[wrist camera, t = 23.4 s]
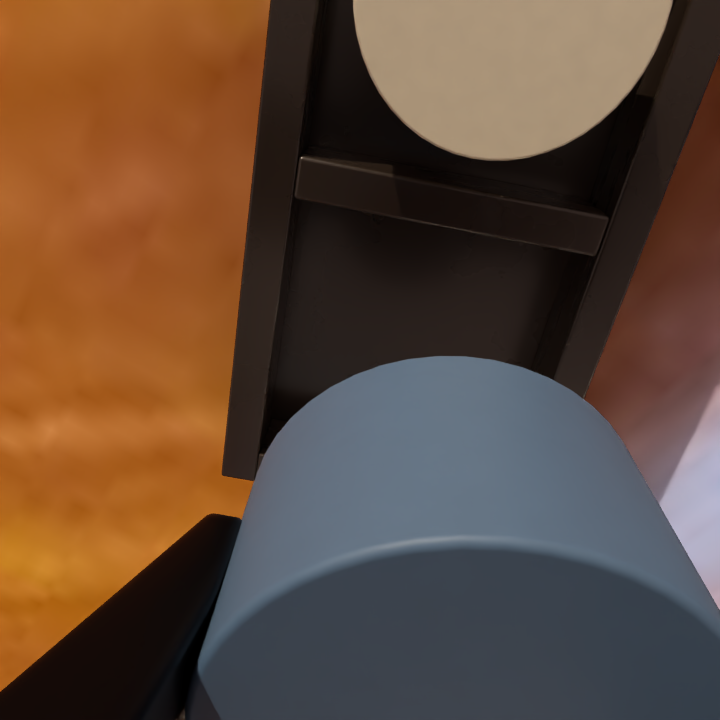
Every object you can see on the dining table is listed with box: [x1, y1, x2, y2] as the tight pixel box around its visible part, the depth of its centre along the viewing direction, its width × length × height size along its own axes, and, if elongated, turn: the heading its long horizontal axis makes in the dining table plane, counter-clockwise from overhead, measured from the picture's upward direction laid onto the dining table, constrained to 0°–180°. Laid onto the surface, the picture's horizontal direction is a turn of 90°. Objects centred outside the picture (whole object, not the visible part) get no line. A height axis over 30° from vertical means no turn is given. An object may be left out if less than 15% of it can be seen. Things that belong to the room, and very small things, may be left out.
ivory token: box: [353, 0, 673, 161], centre depth 12 cm, size 5×5×3 cm
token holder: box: [222, 0, 720, 481], centre depth 14 cm, size 8×16×2 cm, turn 170°
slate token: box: [185, 356, 720, 720], centre depth 7 cm, size 5×5×3 cm
